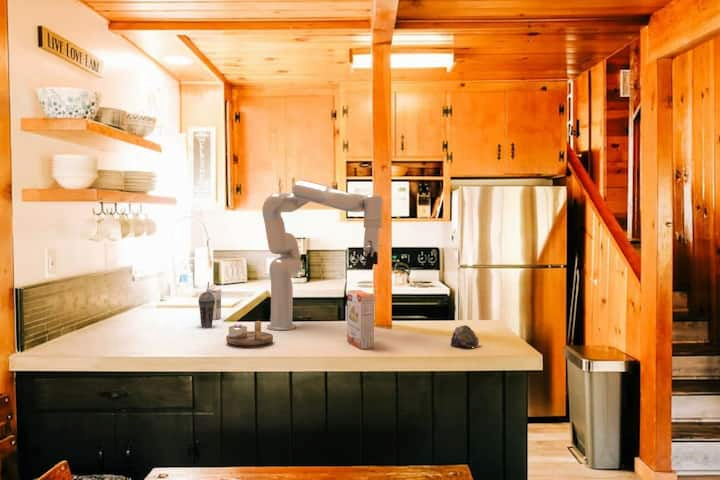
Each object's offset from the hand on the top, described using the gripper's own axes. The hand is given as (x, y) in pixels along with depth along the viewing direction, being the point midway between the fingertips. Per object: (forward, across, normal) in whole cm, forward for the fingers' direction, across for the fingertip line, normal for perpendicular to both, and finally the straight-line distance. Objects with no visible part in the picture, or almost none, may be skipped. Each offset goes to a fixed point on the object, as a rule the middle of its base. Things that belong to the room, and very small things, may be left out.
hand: (371, 265), depth 244 cm
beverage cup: (+31, +2, -74) cm, 80 cm away
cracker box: (+30, +17, -1) cm, 35 cm away
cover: (+28, +30, -46) cm, 62 cm away
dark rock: (+30, +7, +40) cm, 50 cm away
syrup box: (+31, -16, -80) cm, 87 cm away
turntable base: (+30, +27, -43) cm, 59 cm away
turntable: (+29, +27, -43) cm, 58 cm away
